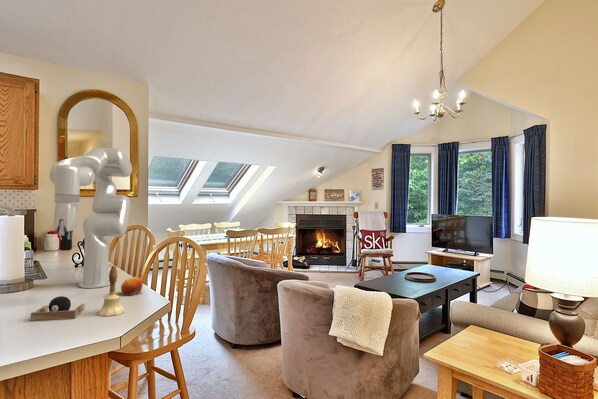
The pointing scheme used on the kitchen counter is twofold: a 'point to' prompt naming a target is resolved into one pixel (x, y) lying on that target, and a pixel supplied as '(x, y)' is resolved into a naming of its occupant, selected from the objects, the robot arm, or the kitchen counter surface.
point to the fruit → (132, 286)
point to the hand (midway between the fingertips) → (66, 250)
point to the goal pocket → (55, 314)
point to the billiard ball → (59, 304)
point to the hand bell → (111, 298)
